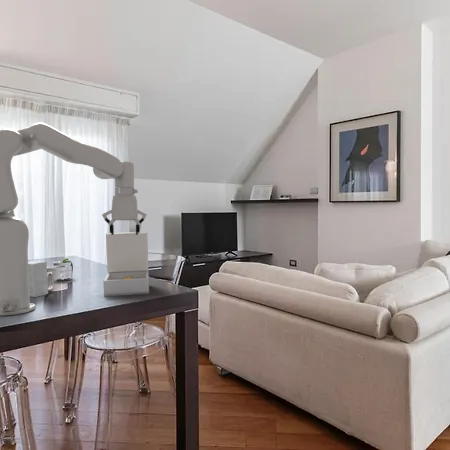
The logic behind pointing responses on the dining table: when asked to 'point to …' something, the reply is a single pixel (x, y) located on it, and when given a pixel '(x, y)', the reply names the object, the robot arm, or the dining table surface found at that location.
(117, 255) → the lid
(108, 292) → the white square tray
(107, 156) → the robot arm
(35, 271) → the small box
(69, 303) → the dining table surface
